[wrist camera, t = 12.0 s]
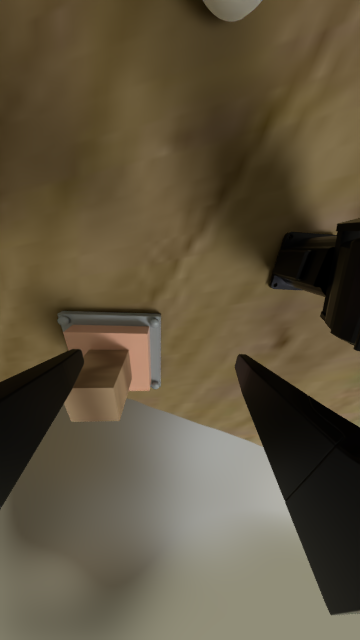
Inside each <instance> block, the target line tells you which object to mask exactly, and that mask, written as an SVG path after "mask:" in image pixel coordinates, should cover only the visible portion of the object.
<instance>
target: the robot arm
mask: <svg viewBox="0 0 360 640" xmlns="http://www.w3.org/2000/svg"><path fill="white" fill-rule="evenodd" d="M336 231H338V232H337V235H327V234H313V233H299V232H289V233H287V234H286V235H285V236H284V239H283V243H282V246H281V249H280V252H279V254H278V257H277V261H276V264H275V267H274V271H273V276H272V279H271V282H270V287H271V288H273V289H286V290H305V291H308V292H311V293H314V294H317V295H320V296H323V297H325V301H324V306H323V311H322V312H321V315H320V317H321V318H322V319H323V320H324V321H325V323H326V324H327V326H328V327H329V328H330V329H331V333H332V334H333V335H335V336H336V337H338V338H340V339H341V340H344V341H346V342H348V343H350V344H352V345H354V349H355V350H357V351H360V218H358V219H354V220H350V221H346V222H342V223H338V224H337V229H336ZM289 235H290V239H289ZM274 284H275V286H273V285H274ZM83 365H84V358H83V354H82V351H81V350H80V349H71V350H69V351H67V352H65V353H62V354H60V355H58V356H56V357H54V358H52V359H49V360H47V361H45V362H43V363H41V364H39V365H36V366H34V367H32V368H30V369H28V370H26V371H23V372H21V373H19V374H17V375H15V376H13V377H10V378H8V379H6V380H4V381H2V382H0V509H1V507H2V506H3V504H4V502H5V501H6V499H7V497H8V496H9V494H10V492H11V491H12V489H13V487H14V486H15V484H16V482H17V481H18V479H19V477H20V476H21V474H22V472H23V471H24V469H25V467H26V466H27V464H28V462H29V461H30V459H31V457H32V456H33V454H34V452H35V451H36V449H37V447H38V446H39V444H40V442H41V441H42V439H43V437H44V436H45V434H46V432H47V431H48V429H49V427H50V426H51V424H52V422H53V421H54V419H55V417H56V416H57V414H58V412H59V411H60V409H61V407H62V406H63V404H64V402H65V401H66V399H67V397H68V396H69V394H70V392H71V390H72V389H73V387H74V384H75V382H76V380H77V378H78V376H79V374H80V372H81V370H82V367H83ZM235 370H236V373H237V377H238V381H239V384H240V388H241V391H242V394H243V397H244V399H245V402H246V404H247V407H248V410H249V412H250V415H251V417H252V420H253V422H254V425H255V427H256V430H257V432H258V435H259V437H260V440H261V442H262V445H263V447H264V450H265V452H266V455H267V457H268V460H269V462H270V465H271V467H272V470H273V472H274V475H275V477H276V480H277V483H278V485H279V488H280V490H281V493H282V495H283V498H284V500H285V503H286V505H287V508H288V510H289V513H290V516H291V518H292V521H293V523H294V526H295V528H296V531H297V533H298V536H299V538H300V541H301V543H302V546H303V548H304V551H305V553H306V556H307V558H308V561H309V563H310V566H311V568H312V571H313V573H314V576H315V579H316V581H317V583H318V586H319V588H320V591H321V594H322V596H323V599H324V601H325V603H326V606H327V608H328V610H329V612H330V614H331V615H344V614H356V613H357V614H358V613H360V427H358V426H357V425H355V424H353V423H352V422H350V421H348V420H347V419H345V418H343V417H342V416H340V415H338V414H337V413H335V412H333V411H332V410H330V409H328V408H327V407H325V406H324V405H322V404H321V403H319V402H318V401H316V400H315V399H313V398H311V397H310V396H307V394H305V393H304V392H302V391H301V390H299V389H298V388H296V387H295V386H293V385H292V384H290V383H289V382H287V381H286V380H284V379H282V378H281V377H279V376H278V375H276V374H275V373H273V372H272V371H270V370H269V369H267V368H266V367H264V366H263V365H261V364H260V363H258V362H257V361H255V360H253V359H252V358H250V357H249V356H247V355H245V354H239V355H238V357H237V360H236V364H235Z"/></svg>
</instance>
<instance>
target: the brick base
mask: <svg viewBox="0 0 360 640" xmlns="http://www.w3.org/2000/svg"><path fill="white" fill-rule="evenodd" d="M58 317H59V318H58V323H59V324H60V325H61V327H62V330H63V334H64V337H65V340H66V343H67V347H68V350H71V349H80V350H81V351H82V354H83V357H84V355H85V354H86V353H87V352H88V350H129V355H130V364H131V373H132V380H131V384H130V387H129V390H128V391H150V387H152V388H153V389H158V388H159V387H160V386H161V314H150V313H116V312H81V311H62V312H60V313H58Z"/></svg>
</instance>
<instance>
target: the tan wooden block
mask: <svg viewBox="0 0 360 640" xmlns="http://www.w3.org/2000/svg"><path fill="white" fill-rule="evenodd" d="M83 358H84V365H83V367H82V370H81V372H80V374H79V376H78V378H77V380H76V382H75V384H74V387H73V389H72V390H71V392H70V394H69V396H68V397H67V399H66V401H65V402H64V404H65V407H66V409H67V412H68V414H69V417H70V419H71V421H72V422H86V421H120V418H121V414H122V411H123V407H124V403H125V401H126V397H127V394H128V390H129V387H130V384H131V380H132V373H131V364H130V355H129V350H88V352H87V353H86V354H85V355H84V357H83Z"/></svg>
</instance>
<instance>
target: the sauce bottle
mask: <svg viewBox="0 0 360 640" xmlns="http://www.w3.org/2000/svg"><path fill="white" fill-rule="evenodd" d="M261 1H262V0H203V2H204V4H205V5H206V6H207V8H208V9H209V10H210V11H211V12H212V13H213V14H214V15H215V16H217V17H218V18H219V19H222V20H224V21H228V22H235V21H238V20H241V19H243V18H244V17H245V16H247V15H248V14H249V13H251V12H252V11H253V10H254V9H255V8H256V7H257V6H258V5H259V4H260V3H261Z"/></svg>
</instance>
